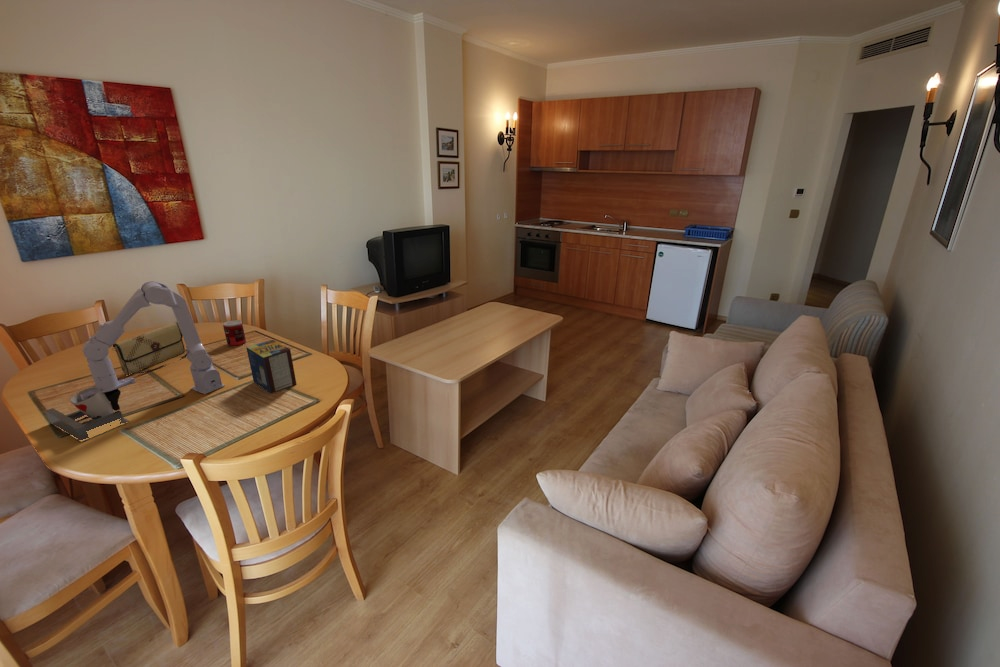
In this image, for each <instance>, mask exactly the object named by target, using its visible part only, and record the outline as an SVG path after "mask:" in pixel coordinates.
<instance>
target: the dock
mask: <svg viewBox="0 0 1000 667" xmlns="http://www.w3.org/2000/svg"><path fill="white" fill-rule="evenodd" d="M44 412H45V415H46V417H47V420H48V421H50V422H51V423H53V424H54V425H56V426H58V427H60V428H61V429H63V430H64V431H66V432H68V433H69V434H71V435H73V436H74V437H76V438H78V439H79V440H83V439H86V438H89V437H88V434H87V432H86V431H89V430H91V429H94V428H96V427H99V426H102V425H104V424H107V423H110V422H112V421H115V420H117V419H120V418H121V419H120V420H121V422H120V424H121V423H126V422H129V421H130V420H128V419H127V418H125V417H123V414H122V412H121V410H117V411H113V413H111V414H108V415H106V416H103V417H101V418H98V419H95V420H94V419H93V420H90V421H88V422H86V423H83V424H82V423H80V422H78V421H75V419H77V418H80V417H82V416H84V415H85V414H84V413H83V412H81V411H80V410H79V409H78V410H77V411H73V412H71V413H68V414H64V413H63V412H60V411H58V410H57V409H55V408H54V407H52V408H50V409H46V410H45V411H44ZM120 420H119V421H120ZM50 422H49V423H50ZM110 426H111V425H110Z"/></svg>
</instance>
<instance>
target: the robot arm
mask: <svg viewBox="0 0 1000 667" xmlns="http://www.w3.org/2000/svg"><path fill="white" fill-rule="evenodd" d="M150 303H151V304H154V305H164V306H166V307H169V308H171V310H172V312H173V315H174V317H175V319H176V322H177V323H178V325H179V328H180V330H181V333H182V335H183V336H182V339H183V340H184V343H185V345H186V346H185V348H186V350H187V352H186V353H187V356H186V358H187V360H188V361H189V362H190V363H191V364H190V367H189V368H190V372H191V376H192V381H193V384H194V386H191V387H190V389H191V390H193V391H196V392H198V393H201V394H202V395H206V394H208V393H211V392H213V391H216V390H219V389H221V388H223V387H226V384H224V383H222V379H221V378H222V377H221V374H220V372H219V371H218V370H217V369H216V368H215V367H214V365H213V359H212V357H211V355H209V354H208V352H207V350H206V349H205V347H204V345H203V343H202V341H201V338H200V336H199V332H198V330H197V327H196V325H195V323H194V319H193V317H192V313H191V312H190V309H189V306H188V303H187V301H186V298H185V297H184V296H182V295H181V294H179V293H178V292H176V291H174V290H173V289H171V288H170V287H168V286H167V285H165V284H164V283H161V282H158V281H147V282H145V283H143V284H142V286H141V288H138V289H137V290H136V291H135V292H134V293H133V294H132V296H131V297H130V298H129V299H128V301H127V302H126V304H125V305H124V306H123V307H122V308H121V310H120V311H119V312H118V314H117V315H116V316H115V317H114V318H113V320H110V321H105V322H104V323H103V324H102V323H100V324H99V325H98V330H97V331H96V332H94V333H95V334H94V335H92V337H91V336H89V337H88V341H86V342H85V343H84V344H83V345H82V350H81V351H82V353H83V355H84V357H85V358H86V362H87V363H88V364H87V366H88V368H89V371H90V374H91V377H92V379H93V382H94V386H96V389H95V388H94V389H92V390H90V391H88V392H85V393H83V394H80V397H81V399H82V400H83V401H85V400H87V399H89V398H91V397H92V396H94V395H95V394H96V393H97V392H98V391H99V388H100V389H101V390H102V391H101V392H102V393H104V394H105V395H106V397H107V398H108V400H109V402H110V403H111V406H112V409H113V411H114V412H116V411H120V410H121V407H120V404H119V398H120V395H121V390H120V389H121V388H123V387H127V386H129V385H134V384H136V380H135V378H134V377H131V376H129V377H127V378H124V379H120V380H118V377H117V374H116V372H115V369H114V365H113V363H112V361H111V358H110V357H109V349H110V348H112V347H113V344H115V343H117V341H118V340H119V338H121V336H122V335H123V334H124V333H125V327H124V326H125V325H126V324H127V323H128V322H129V320H131V319H132V318H133V316H135V315H136V313H137V312H138V311H139V310H140V309H142V308H147V307H150V306H151V307H152V305H151V304H150Z"/></svg>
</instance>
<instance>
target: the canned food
mask: <svg viewBox="0 0 1000 667" xmlns="http://www.w3.org/2000/svg"><path fill="white" fill-rule="evenodd" d="M243 325H244V324H243V322H242V320H237V319H235V320H228V321H225V322H224V323H222V327H223V330H224V336H225V339H226V344H227V345H228V347H231V346H236V347H241V346H243V344H244V345H245V344H246V342H247V340H246V335H245V334H246V333H245V330H244V326H243ZM240 345H241V346H240Z"/></svg>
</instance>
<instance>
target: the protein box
mask: <svg viewBox="0 0 1000 667" xmlns="http://www.w3.org/2000/svg"><path fill="white" fill-rule="evenodd" d="M246 352H247V358H248V362H249V365H250V370H251V376H252V380H253V383H254V384H256V385H258V386H259V385H260V386H259V387H261V388H262V389H263V388H264V390H265V391H266V390H267V391H266V392H267V393H271V394H274V393H276V391H277V392H278V390H280V391H282V390H285V389H287V388H291V387H293V386H296V385H297V379H296V372H295V368H294V363H293V358H292V357H293V356H292V352H291V348H289V347H287V346H285V345H283V344H281V343H279V342H278V341H275V340H274V339H271V340H266V341H262V342H260V343H255V344H251V345H249V346H246ZM273 392H274V393H273Z"/></svg>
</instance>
